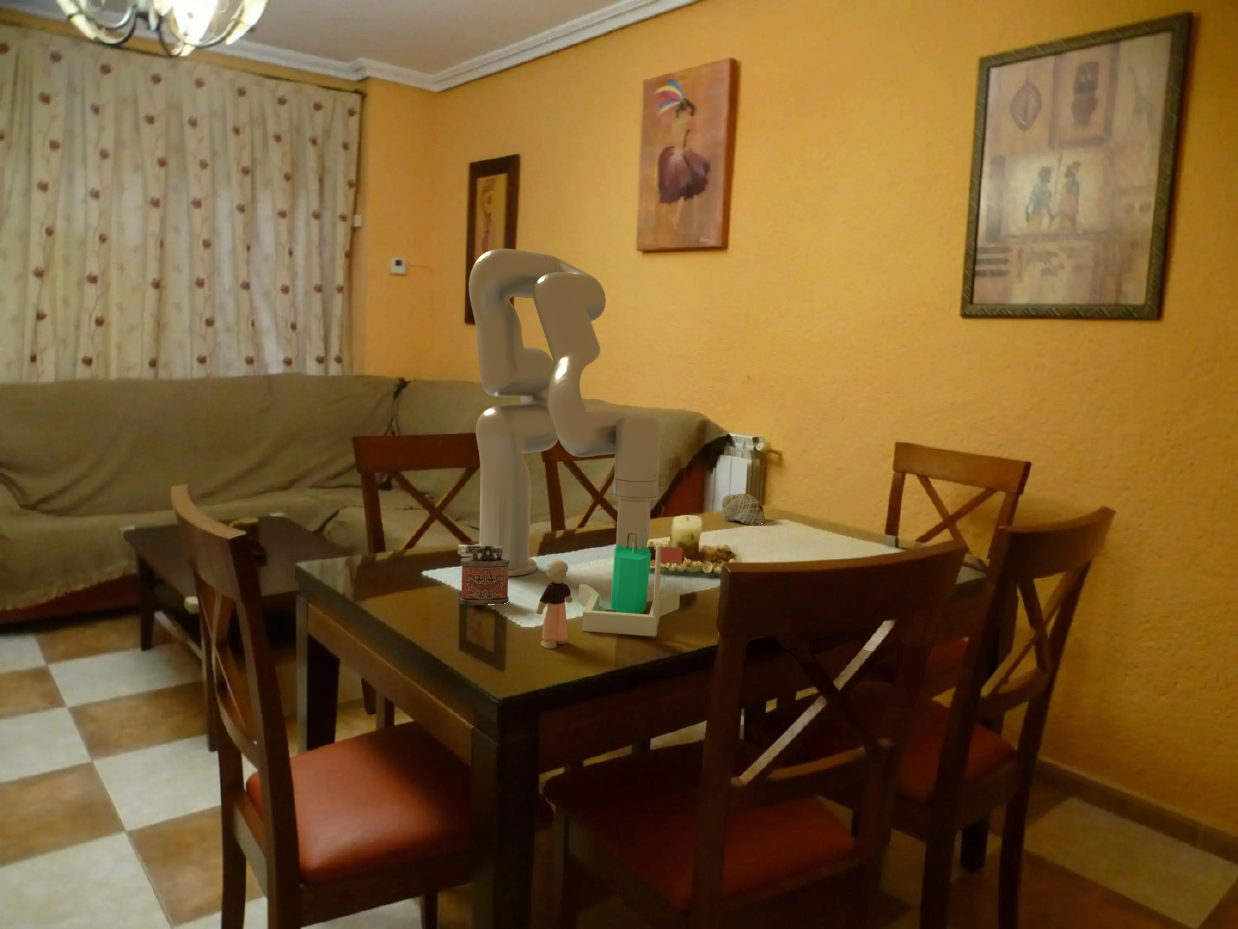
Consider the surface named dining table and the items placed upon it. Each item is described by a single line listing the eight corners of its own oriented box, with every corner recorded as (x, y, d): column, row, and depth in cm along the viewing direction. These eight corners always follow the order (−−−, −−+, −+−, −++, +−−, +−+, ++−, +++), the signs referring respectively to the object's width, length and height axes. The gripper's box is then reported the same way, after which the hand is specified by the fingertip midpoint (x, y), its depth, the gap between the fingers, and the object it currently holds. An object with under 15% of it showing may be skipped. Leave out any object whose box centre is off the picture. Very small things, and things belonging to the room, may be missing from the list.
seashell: (774, 522, 226) (761, 487, 223) (741, 540, 224) (727, 506, 221) (755, 512, 236) (742, 478, 232) (724, 529, 234) (710, 496, 230)
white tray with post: (563, 629, 140) (566, 541, 138) (579, 600, 156) (582, 520, 154) (677, 638, 139) (682, 549, 137) (682, 608, 154) (686, 527, 152)
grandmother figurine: (554, 652, 130) (557, 567, 128) (531, 648, 132) (533, 563, 130) (578, 637, 137) (581, 555, 135) (556, 633, 139) (558, 552, 137)
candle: (643, 617, 148) (648, 554, 144) (607, 612, 149) (611, 548, 144) (648, 598, 154) (654, 536, 149) (614, 593, 155) (618, 531, 150)
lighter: (508, 599, 155) (509, 542, 154) (509, 605, 152) (510, 547, 150) (460, 599, 154) (461, 542, 152) (460, 605, 150) (461, 547, 149)
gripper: (618, 481, 160) (614, 581, 163) (609, 495, 146) (605, 605, 148) (660, 483, 160) (656, 584, 162) (655, 497, 145) (651, 608, 148)
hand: (632, 594), depth 155 cm, fingers closed
